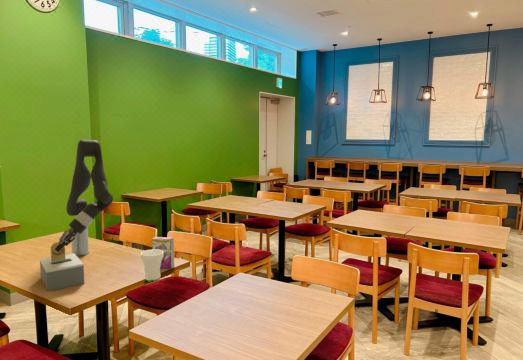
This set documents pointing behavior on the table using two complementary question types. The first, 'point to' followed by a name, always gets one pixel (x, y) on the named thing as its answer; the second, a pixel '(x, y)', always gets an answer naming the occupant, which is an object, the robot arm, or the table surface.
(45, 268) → the coin box
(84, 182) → the robot arm
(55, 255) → the token
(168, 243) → the candy bar box
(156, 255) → the cup
